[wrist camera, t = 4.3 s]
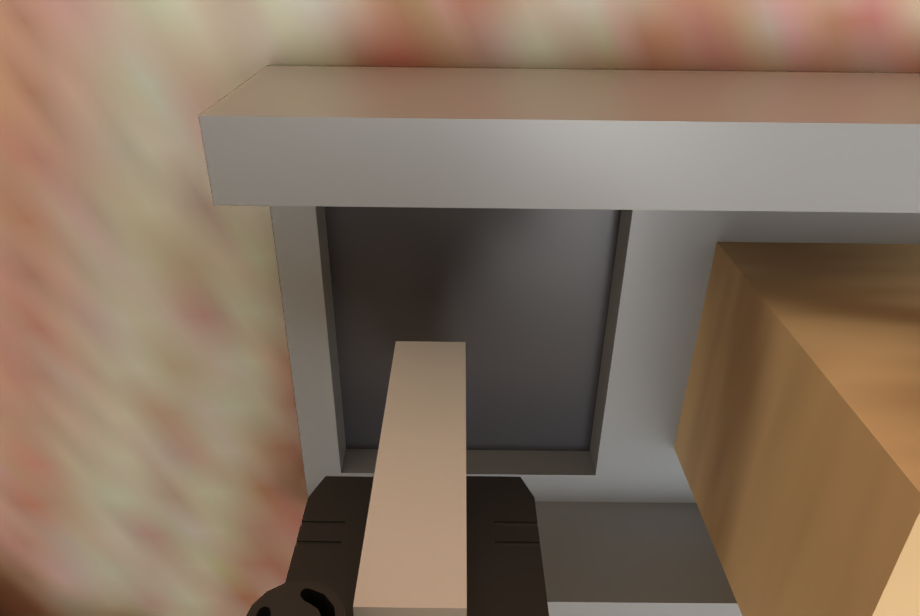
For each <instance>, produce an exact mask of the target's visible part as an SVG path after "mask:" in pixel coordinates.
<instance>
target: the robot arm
mask: <svg viewBox="0 0 920 616" xmlns="http://www.w3.org/2000/svg"><path fill="white" fill-rule="evenodd" d="M247 616H549V611H548V603H547V595H546V587H545V579H544V571H543V563H542V554H541V547H540V538H539V530H538V525H537V514H536V506H535V498H534V496H533V495H532V493H531V492H530V490H529V489H528V487H527V486H526V484H525V483H524V481H523V480H522V478H521V477H508V476H466V342H421V341H396V343H395V349H394V355H393V361H392V368H391V374H390V380H389V386H388V392H387V399H386V405H385V411H384V417H383V423H382V430H381V436H380V442H379V448H378V454H377V461H376V467H375V473H374V477H362V476H325V477H324V479H323V480H322V481H321V482H320V483H319V485H318V486H317V487H316V488H315V490H314V491H313V492H312V493H311V494H310V496H309V497H308V500H307V504H306V508H305V512H304V515H303V519H302V526H300V530H299V534H298V538H297V545H296V546H295V549H294V553H293V556H292V560H291V564H290V567H289V571H288V575H287V579H286V582H285V583H284V584H282V585H280V586H278V587H276V588H274V589H272V590H270V591H268V592H266V593H265V594H264V595H263V596H262V597H261V598H260V599H259V600H257V601H256V602H255V603H254V604H253V605H252V606H251V608H250V610H249V612H248V614H247Z"/></svg>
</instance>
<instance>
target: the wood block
mask: <svg viewBox="0 0 920 616" xmlns="http://www.w3.org/2000/svg"><path fill="white" fill-rule="evenodd" d="M674 449H675V452H676V454H677V457H678V459H679V462H680V464H681V467H682V469H683V471H684V474H685V476H686V479H687V481H688V484H689V486H690V489H691V491H692V493H693V496H694V498H695V501H696V503H697V506H698V508H699V511H700V513H701V515H702V518H703V520H704V523H705V525H706V528H707V530H708V533H709V535H710V538H711V540H712V542H713V545H714V547H715V550H716V552H717V555H718V557H719V560H720V562H721V564H722V567H723V569H724V572H725V574H726V577H727V579H728V582H729V584H730V587H731V589H732V591H733V594H734V596H735V599H736V601H737V604H738V606H739V609H740V611H741V613H742V616H920V244H864V243H770V242H717V244H716V248H715V253H714V258H713V263H712V267H711V272H710V277H709V282H708V287H707V291H706V296H705V301H704V306H703V311H702V315H701V320H700V325H699V330H698V335H697V339H696V344H695V349H694V354H693V358H692V363H691V368H690V373H689V378H688V382H687V387H686V392H685V397H684V402H683V406H682V411H681V416H680V421H679V426H678V430H677V435H676V440H675V445H674Z"/></svg>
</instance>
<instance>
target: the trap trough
mask: <svg viewBox="0 0 920 616" xmlns="http://www.w3.org/2000/svg"><path fill="white" fill-rule="evenodd" d="M199 122H200V127H201V133H202V139H203V145H204V151H205V157H206V162H207V168H208V174H209V180H210V186H211V192H212V197H213V203H214V205H242V206H270V210H271V218H272V226H273V234H274V241H275V249H276V257H277V264H278V272H279V280H280V288H281V295H282V303H283V311H284V318H285V326H286V334H287V342H288V349H289V357H290V365H291V373H292V380H293V388H294V396H295V403H296V411H297V419H298V427H299V434H300V442H301V450H302V458H303V465H304V473H305V481H306V488H307V496H308V497H309V496H310V494H311V493H312V492H313V491H314V490H315V488H316V487H317V486H318V485H319V483H320V482H321V481H322V480H323V479H324V477H325V476H362V477H374V473H375V467H376V461H377V454H378V448H379V442H380V436H381V430H382V423H383V417H384V411H385V405H386V399H387V392H388V386H389V380H390V374H391V368H392V361H393V355H394V349H395V343H396V341H421V342H466V476H508V477H521V478H522V480H523V481H524V483H525V484H526V486H527V487H528V489H529V490H530V492H531V493H532V495H533V496H534V498H535V506H536V514H537V525H538V530H539V538H540V547H541V554H542V563H543V571H544V579H545V587H546V595H547V603H548V611H549V616H742V613H741V611H740V609H739V606H738V604H737V601H736V599H735V596H734V594H733V591H732V589H731V587H730V584H729V582H728V579H727V577H726V574H725V572H724V569H723V567H722V564H721V562H720V560H719V557H718V555H717V552H716V550H715V547H714V545H713V542H712V540H711V538H710V535H709V533H708V530H707V528H706V525H705V523H704V520H703V518H702V515H701V513H700V511H699V508H698V506H697V503H696V501H695V498H694V496H693V493H692V491H691V489H690V486H689V484H688V481H687V479H686V476H685V474H684V471H683V469H682V467H681V464H680V462H679V459H678V457H677V454H676V452H675V449H674V445H675V440H676V435H677V430H678V426H679V421H680V416H681V411H682V406H683V402H684V397H685V392H686V387H687V382H688V378H689V373H690V368H691V363H692V358H693V354H694V349H695V344H696V339H697V335H698V330H699V325H700V320H701V315H702V311H703V306H704V301H705V296H706V291H707V287H708V282H709V277H710V272H711V267H712V263H713V258H714V253H715V248H716V244H717V242H770V243H864V244H920V73H859V72H776V71H692V70H609V69H525V68H442V67H358V66H275V65H268V66H266V67H265V68H263V69H262V70H261V71H259V72H258V73H257V74H255V75H254V76H253V77H251V78H250V79H248V80H247V81H246V82H244V83H243V84H242V85H240V86H239V87H237V88H236V89H235V90H233V91H232V92H231V93H229V94H228V95H226V96H225V97H224V98H222V99H221V100H220V101H218V102H217V103H215V104H214V105H213V106H211V107H210V108H209V109H207V110H206V111H204V112H203V113H202V114H200V115H199ZM301 526H302V524H301ZM296 545H297V543H296Z"/></svg>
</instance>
